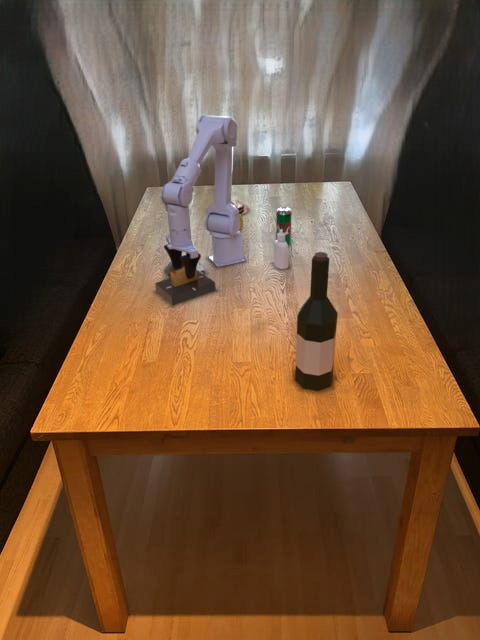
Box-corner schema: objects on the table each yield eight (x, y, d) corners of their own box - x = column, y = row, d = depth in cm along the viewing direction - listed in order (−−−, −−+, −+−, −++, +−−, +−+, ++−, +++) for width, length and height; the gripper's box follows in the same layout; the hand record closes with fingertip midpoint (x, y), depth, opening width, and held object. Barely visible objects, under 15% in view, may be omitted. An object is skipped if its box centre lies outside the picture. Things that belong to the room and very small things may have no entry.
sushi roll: (244, 217, 200) (244, 207, 198) (206, 217, 202) (205, 206, 200) (249, 204, 213) (249, 194, 210) (212, 203, 215) (212, 193, 212)
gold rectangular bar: (194, 277, 153) (193, 264, 151) (197, 279, 152) (196, 266, 150) (171, 284, 150) (170, 271, 147) (174, 287, 148) (173, 273, 146)
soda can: (291, 240, 181) (291, 206, 175) (290, 246, 177) (291, 212, 171) (276, 240, 182) (276, 206, 175) (275, 246, 177) (275, 211, 171)
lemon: (242, 237, 184) (241, 215, 180) (226, 236, 186) (225, 214, 181) (245, 231, 189) (244, 209, 185) (230, 230, 190) (229, 209, 186)
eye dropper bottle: (287, 261, 167) (288, 226, 161) (288, 269, 162) (289, 233, 156) (273, 262, 167) (273, 226, 161) (274, 270, 162) (274, 233, 156)
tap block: (196, 277, 160) (195, 267, 158) (217, 292, 151) (216, 282, 150) (154, 290, 153) (153, 281, 151) (174, 307, 145) (172, 297, 143)
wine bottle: (292, 368, 120) (295, 247, 104) (328, 366, 120) (337, 244, 104) (298, 392, 113) (303, 265, 97) (336, 389, 113) (348, 262, 97)
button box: (195, 263, 168) (195, 255, 166) (205, 273, 162) (204, 264, 160) (165, 270, 164) (164, 261, 163) (173, 281, 158) (172, 272, 156)
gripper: (154, 222, 145) (159, 267, 152) (179, 239, 135) (184, 286, 142) (176, 217, 148) (181, 261, 156) (203, 232, 138) (206, 279, 145)
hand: (184, 272), depth 149 cm, fingers open, 7 cm apart
